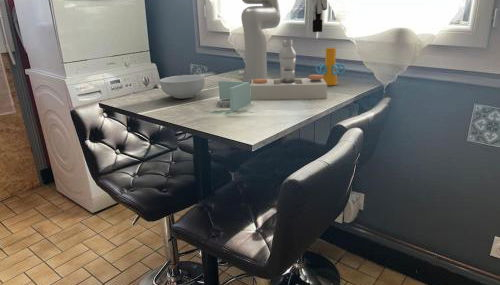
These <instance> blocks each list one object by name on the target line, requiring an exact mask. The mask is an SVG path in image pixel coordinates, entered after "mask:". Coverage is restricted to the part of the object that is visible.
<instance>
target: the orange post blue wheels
mask: <svg viewBox="0 0 500 285" xmlns="http://www.w3.org/2000/svg"><path fill="white" fill-rule="evenodd" d="M336 53H337V48H336V47H326V48H325V61H324V62H325V63H324V64H323V63H318V64H316V66H315V68H314V70H315V72H316V73H317V74H318V75H323V80H324V81H325V82H326V83H327V87H330V86H332V87H333V86H336V85H338V75H343V74H344V73H345V71H346V66H345V65H344V64H343V63H338V62H336ZM341 67H342V71H340V70H341ZM318 68H319V69H318ZM322 68H323V70H322Z"/></svg>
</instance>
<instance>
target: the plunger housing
mask: <svg viewBox="0 0 500 285" xmlns="http://www.w3.org/2000/svg"><path fill="white" fill-rule="evenodd" d="M295 82H296V84H280V78H270V79H267V83H262V84H256V83H253V80H252V82H250V98H251V101H252V100H253V101H255V100H259V101H261V100H304V99H306V100H310V99H311V100H312V99H313V100H314V99H317V100H318V99H327V97H328V96H327V95H328V86H327V83H326V82H325V81H324V80H323V79H320V82H311V79H309V77H304V78H300V77H299V78H295Z"/></svg>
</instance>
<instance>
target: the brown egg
mask: <svg viewBox="0 0 500 285" xmlns="http://www.w3.org/2000/svg"><path fill="white" fill-rule="evenodd" d="M308 78H309V79H311V82H320V79H323V75H321V74H309V75H308Z"/></svg>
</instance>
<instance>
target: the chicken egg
mask: <svg viewBox="0 0 500 285" xmlns="http://www.w3.org/2000/svg"><path fill="white" fill-rule="evenodd" d="M253 83H256V84H262V83H267V79H253Z"/></svg>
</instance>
